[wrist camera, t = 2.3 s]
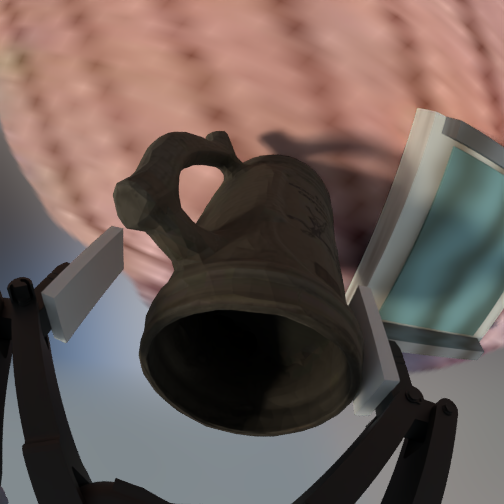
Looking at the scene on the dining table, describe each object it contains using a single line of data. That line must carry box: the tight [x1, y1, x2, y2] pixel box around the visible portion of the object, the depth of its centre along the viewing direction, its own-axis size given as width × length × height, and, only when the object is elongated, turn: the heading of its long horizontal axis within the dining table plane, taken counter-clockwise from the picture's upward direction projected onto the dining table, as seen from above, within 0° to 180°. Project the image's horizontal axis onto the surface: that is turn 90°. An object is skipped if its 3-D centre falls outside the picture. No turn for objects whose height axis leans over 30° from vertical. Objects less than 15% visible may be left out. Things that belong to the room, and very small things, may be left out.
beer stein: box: [113, 131, 364, 436], centre depth 19 cm, size 15×11×20 cm
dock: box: [345, 108, 504, 360], centre depth 24 cm, size 20×22×6 cm
